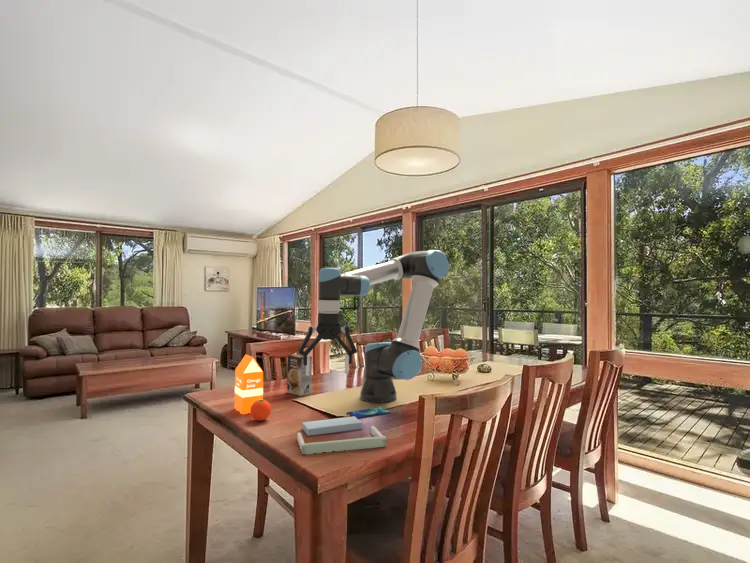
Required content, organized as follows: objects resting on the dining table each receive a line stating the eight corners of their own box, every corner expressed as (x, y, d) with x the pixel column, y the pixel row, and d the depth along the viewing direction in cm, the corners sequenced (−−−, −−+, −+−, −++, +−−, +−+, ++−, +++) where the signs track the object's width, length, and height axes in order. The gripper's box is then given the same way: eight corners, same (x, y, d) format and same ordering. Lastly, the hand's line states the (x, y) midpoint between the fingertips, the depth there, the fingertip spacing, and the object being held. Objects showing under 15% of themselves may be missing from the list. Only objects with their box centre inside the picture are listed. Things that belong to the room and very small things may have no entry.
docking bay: (373, 432, 131) (374, 424, 131) (386, 446, 120) (386, 437, 120) (297, 439, 124) (297, 431, 124) (302, 454, 113) (302, 445, 113)
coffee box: (286, 392, 180) (287, 355, 181) (298, 389, 185) (298, 353, 185) (300, 396, 174) (300, 357, 175) (311, 393, 179) (312, 355, 180)
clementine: (249, 417, 145) (249, 396, 145) (269, 415, 147) (269, 395, 147) (250, 424, 137) (251, 402, 137) (272, 422, 140) (272, 401, 140)
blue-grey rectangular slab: (354, 423, 141) (354, 416, 141) (362, 430, 135) (362, 422, 135) (302, 430, 134) (302, 422, 134) (307, 437, 127) (307, 429, 128)
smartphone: (345, 412, 151) (380, 406, 159) (345, 414, 151) (380, 408, 159) (355, 418, 144) (391, 411, 152) (355, 420, 144) (391, 414, 152)
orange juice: (254, 405, 159) (255, 353, 160) (262, 411, 152) (264, 356, 153) (233, 408, 155) (235, 355, 155) (241, 414, 148) (242, 358, 148)
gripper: (360, 312, 151) (359, 371, 150) (291, 311, 144) (289, 373, 143) (366, 313, 144) (365, 375, 143) (293, 312, 136) (291, 377, 136)
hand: (327, 374), depth 143 cm, fingers open, 13 cm apart
